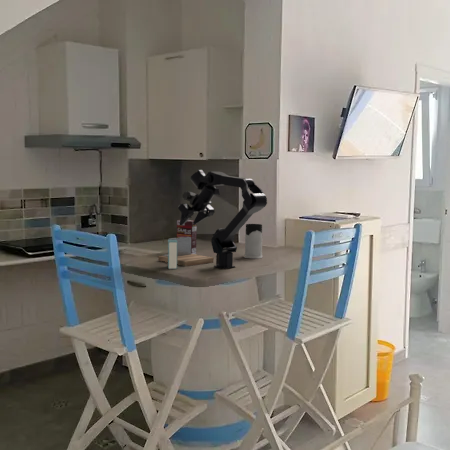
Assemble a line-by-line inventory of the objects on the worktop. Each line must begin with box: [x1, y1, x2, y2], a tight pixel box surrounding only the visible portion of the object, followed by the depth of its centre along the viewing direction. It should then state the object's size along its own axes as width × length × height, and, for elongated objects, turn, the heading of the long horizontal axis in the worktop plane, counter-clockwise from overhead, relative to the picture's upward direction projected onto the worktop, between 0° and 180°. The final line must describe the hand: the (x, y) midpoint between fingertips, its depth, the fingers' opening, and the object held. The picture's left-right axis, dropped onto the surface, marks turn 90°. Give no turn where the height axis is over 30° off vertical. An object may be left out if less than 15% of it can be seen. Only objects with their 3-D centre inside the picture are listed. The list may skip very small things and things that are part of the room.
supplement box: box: [176, 219, 198, 255], centre depth 281 cm, size 9×5×16 cm, turn 62°
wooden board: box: [157, 253, 214, 267], centre depth 259 cm, size 18×16×2 cm
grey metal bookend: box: [162, 237, 191, 257], centre depth 263 cm, size 5×12×8 cm, turn 134°
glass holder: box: [243, 223, 264, 259], centre depth 277 cm, size 9×14×15 cm, turn 19°
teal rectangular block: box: [167, 239, 178, 270], centre depth 243 cm, size 4×6×11 cm, turn 7°
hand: (187, 224), depth 259 cm, fingers open, 9 cm apart
